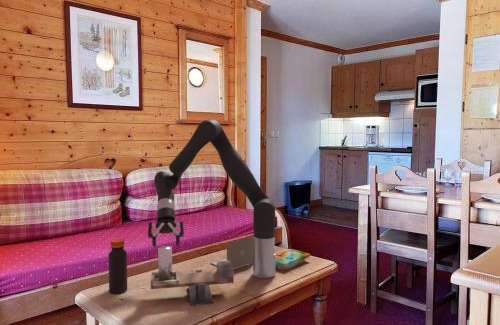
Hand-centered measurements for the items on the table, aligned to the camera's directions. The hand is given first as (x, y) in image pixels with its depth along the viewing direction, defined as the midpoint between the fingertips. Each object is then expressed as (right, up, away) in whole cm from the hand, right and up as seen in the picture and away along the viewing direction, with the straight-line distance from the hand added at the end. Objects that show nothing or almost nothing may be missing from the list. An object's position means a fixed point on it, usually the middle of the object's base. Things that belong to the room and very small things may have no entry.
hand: (166, 245), depth 150 cm
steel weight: (+2, -10, -9) cm, 14 cm away
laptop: (+26, -15, +30) cm, 42 cm away
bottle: (-18, -17, -3) cm, 25 cm away
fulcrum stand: (+14, -18, -6) cm, 24 cm away
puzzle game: (+52, -16, +30) cm, 62 cm away
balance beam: (+12, -12, -7) cm, 18 cm away
